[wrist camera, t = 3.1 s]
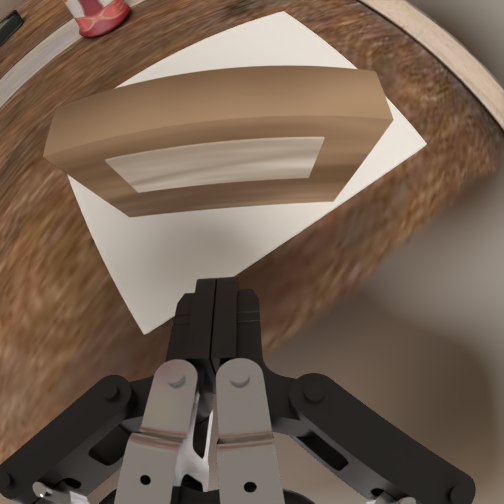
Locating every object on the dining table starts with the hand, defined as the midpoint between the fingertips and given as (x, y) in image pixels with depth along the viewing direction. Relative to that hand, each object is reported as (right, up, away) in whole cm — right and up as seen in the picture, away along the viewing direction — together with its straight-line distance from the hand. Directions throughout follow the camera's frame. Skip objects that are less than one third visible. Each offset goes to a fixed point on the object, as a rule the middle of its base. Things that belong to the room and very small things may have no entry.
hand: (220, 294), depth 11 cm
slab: (0, +6, +8) cm, 10 cm away
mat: (-1, +11, +10) cm, 15 cm away
